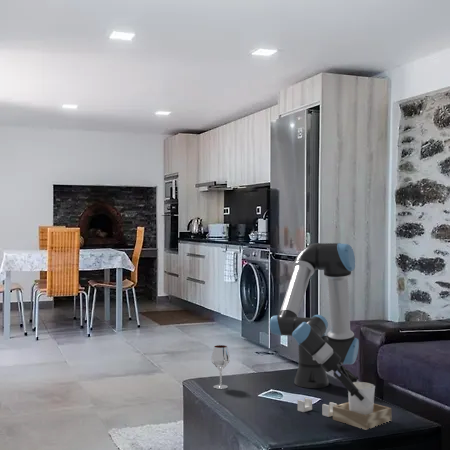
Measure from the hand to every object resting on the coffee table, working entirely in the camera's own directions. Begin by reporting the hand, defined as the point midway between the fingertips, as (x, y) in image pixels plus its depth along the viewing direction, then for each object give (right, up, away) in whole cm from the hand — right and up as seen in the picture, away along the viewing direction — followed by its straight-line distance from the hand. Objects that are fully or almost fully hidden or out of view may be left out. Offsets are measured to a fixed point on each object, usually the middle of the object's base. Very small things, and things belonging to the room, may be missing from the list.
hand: (368, 400), depth 224 cm
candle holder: (-3, -7, 0) cm, 7 cm away
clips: (-17, -7, +10) cm, 21 cm away
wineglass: (-55, -8, +47) cm, 72 cm away
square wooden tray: (-2, -7, 0) cm, 8 cm away
